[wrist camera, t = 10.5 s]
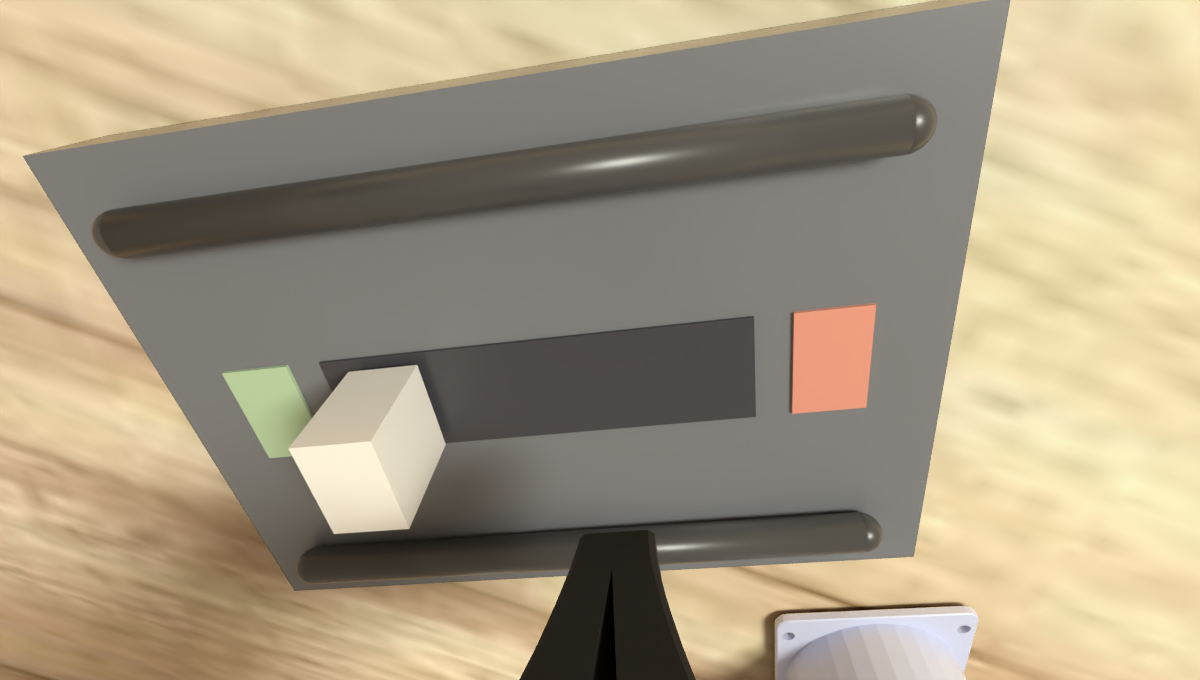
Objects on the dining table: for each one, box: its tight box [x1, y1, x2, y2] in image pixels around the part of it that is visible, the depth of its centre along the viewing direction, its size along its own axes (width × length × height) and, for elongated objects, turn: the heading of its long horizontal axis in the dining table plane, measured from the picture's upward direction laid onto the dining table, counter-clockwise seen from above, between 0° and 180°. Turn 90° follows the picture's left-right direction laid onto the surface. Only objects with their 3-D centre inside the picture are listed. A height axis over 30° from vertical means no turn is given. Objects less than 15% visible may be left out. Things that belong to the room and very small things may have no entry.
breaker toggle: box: [288, 365, 446, 534], centre depth 15 cm, size 3×2×3 cm
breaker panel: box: [23, 0, 1010, 591], centre depth 17 cm, size 16×22×4 cm
